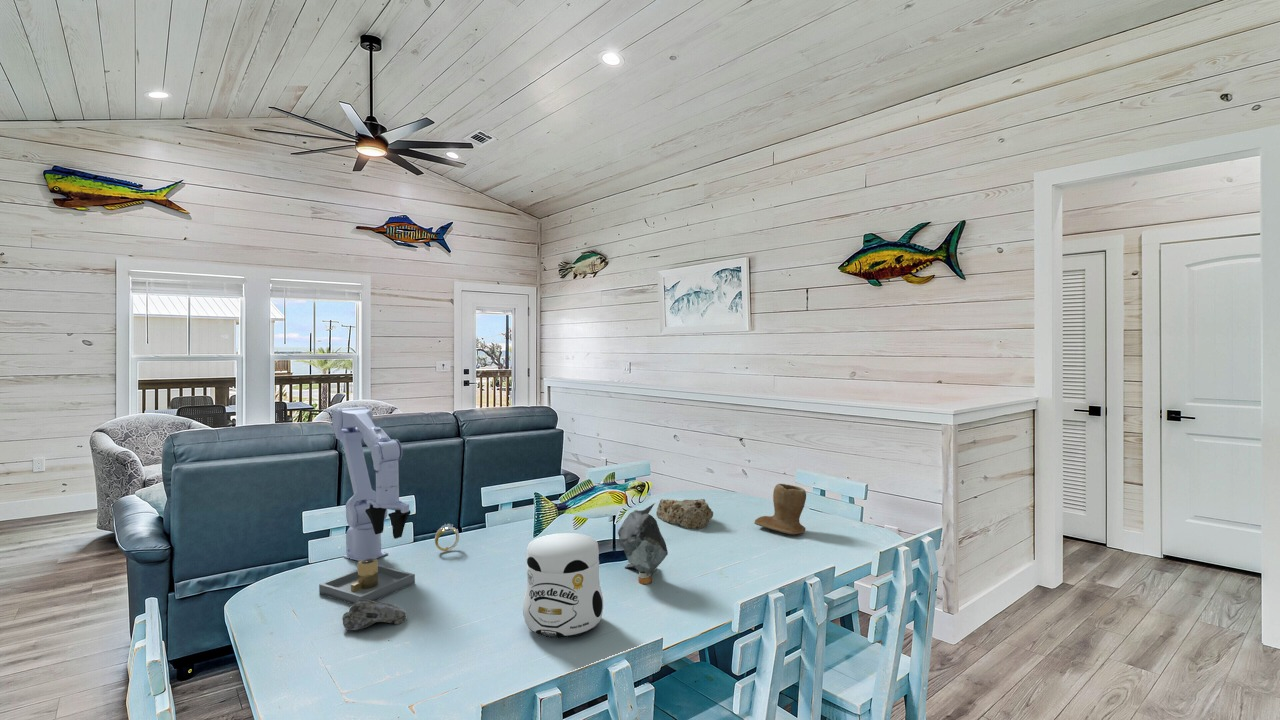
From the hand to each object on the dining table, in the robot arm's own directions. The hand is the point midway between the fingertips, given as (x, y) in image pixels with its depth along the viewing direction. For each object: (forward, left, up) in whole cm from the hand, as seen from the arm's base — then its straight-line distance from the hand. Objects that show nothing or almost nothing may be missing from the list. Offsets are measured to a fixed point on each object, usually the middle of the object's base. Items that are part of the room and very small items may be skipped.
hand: (388, 535), depth 164 cm
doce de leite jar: (+61, -4, -10) cm, 62 cm away
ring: (+3, +18, -10) cm, 21 cm away
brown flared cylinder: (+85, +84, -10) cm, 120 cm away
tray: (+6, -11, -9) cm, 16 cm away
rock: (+53, +78, -10) cm, 95 cm away
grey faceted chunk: (+63, +27, -10) cm, 70 cm away
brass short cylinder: (+6, -11, -9) cm, 15 cm away
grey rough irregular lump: (+23, -23, -10) cm, 34 cm away
